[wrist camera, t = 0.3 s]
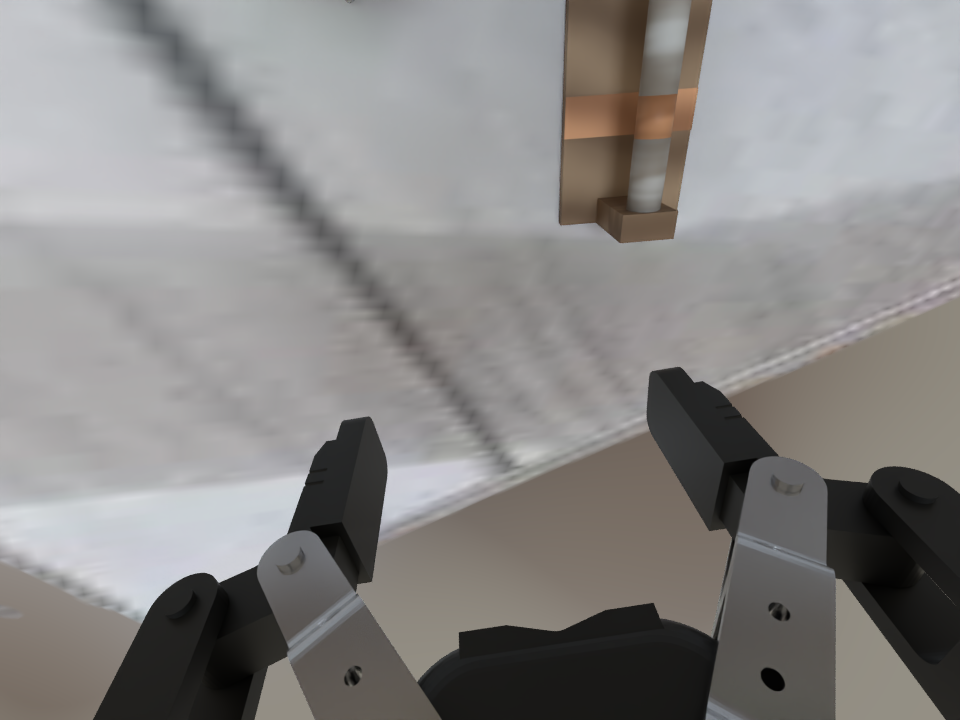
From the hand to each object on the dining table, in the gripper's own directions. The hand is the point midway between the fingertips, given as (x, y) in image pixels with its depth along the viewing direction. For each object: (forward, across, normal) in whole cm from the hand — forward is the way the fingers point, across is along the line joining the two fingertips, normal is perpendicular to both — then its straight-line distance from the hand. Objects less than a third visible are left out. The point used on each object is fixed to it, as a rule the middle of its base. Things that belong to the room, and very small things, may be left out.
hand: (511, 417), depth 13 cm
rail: (+28, -14, -10) cm, 33 cm away
